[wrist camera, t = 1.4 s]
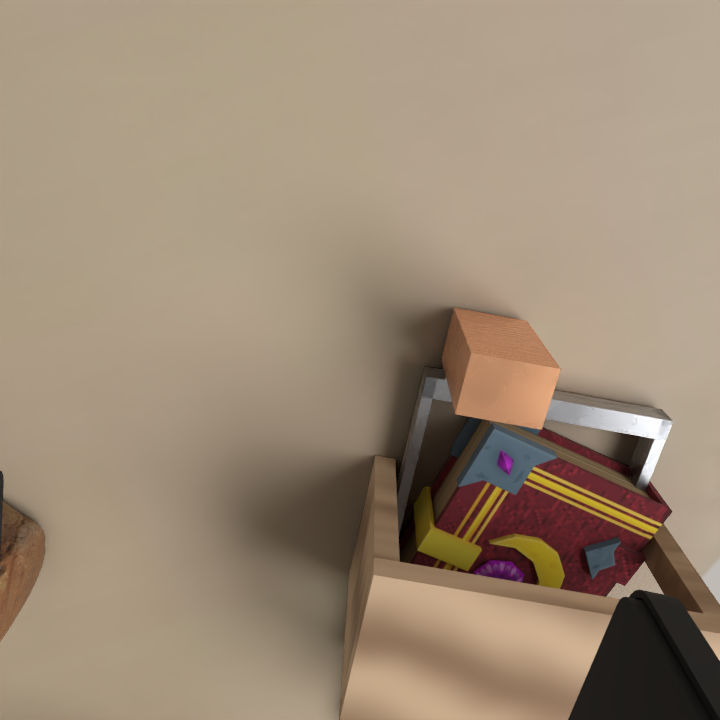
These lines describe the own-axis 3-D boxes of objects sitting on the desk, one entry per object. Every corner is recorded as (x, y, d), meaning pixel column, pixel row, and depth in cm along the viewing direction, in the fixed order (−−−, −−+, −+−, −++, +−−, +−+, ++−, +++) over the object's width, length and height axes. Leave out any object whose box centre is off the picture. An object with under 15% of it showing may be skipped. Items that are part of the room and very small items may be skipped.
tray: (439, 304, 34) (453, 349, 28) (684, 350, 35) (754, 404, 28) (357, 651, 43) (353, 747, 37) (554, 684, 44) (585, 784, 37)
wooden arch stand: (375, 455, 38) (373, 575, 28) (649, 503, 39) (742, 637, 29) (348, 576, 41) (339, 722, 31) (602, 619, 42) (671, 775, 32)
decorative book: (647, 469, 38) (684, 518, 34) (509, 655, 44) (525, 720, 39) (479, 392, 37) (493, 432, 32) (358, 594, 42) (355, 654, 38)
